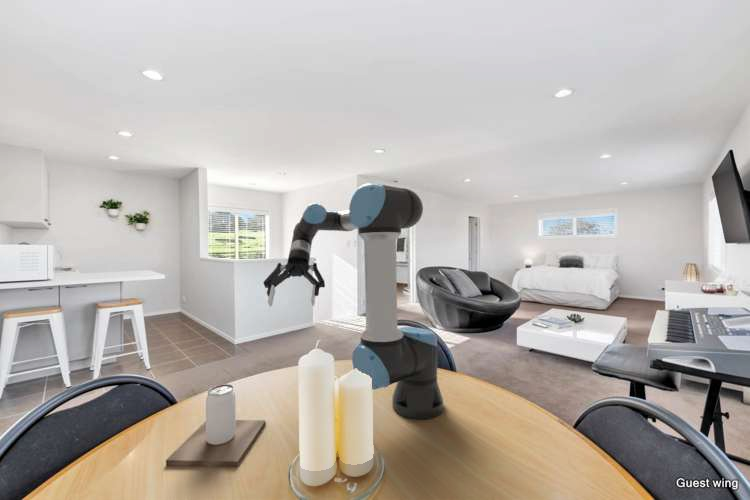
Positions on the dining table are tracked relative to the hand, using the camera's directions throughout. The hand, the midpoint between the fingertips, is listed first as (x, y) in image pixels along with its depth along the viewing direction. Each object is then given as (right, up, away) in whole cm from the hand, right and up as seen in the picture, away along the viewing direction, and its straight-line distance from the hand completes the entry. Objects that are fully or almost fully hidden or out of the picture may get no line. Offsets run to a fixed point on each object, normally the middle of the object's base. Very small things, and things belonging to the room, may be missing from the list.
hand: (291, 303), depth 100 cm
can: (-11, -29, -24) cm, 39 cm away
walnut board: (-11, -30, -24) cm, 40 cm away
